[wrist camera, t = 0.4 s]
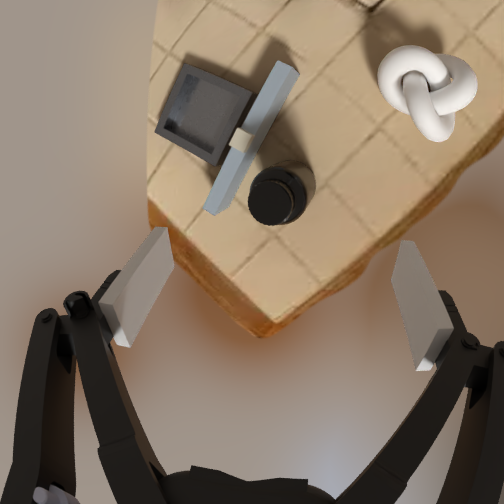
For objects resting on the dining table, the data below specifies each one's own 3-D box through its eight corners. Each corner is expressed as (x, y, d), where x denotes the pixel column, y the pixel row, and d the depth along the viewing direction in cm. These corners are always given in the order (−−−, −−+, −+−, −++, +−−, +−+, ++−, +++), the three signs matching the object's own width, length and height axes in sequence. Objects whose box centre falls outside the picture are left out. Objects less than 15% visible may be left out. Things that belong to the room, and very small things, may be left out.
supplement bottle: (262, 198, 44) (230, 221, 34) (276, 153, 41) (246, 161, 31) (308, 215, 43) (289, 244, 33) (323, 169, 40) (310, 183, 29)
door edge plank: (286, 67, 36) (274, 57, 31) (300, 74, 36) (290, 65, 31) (217, 200, 47) (198, 210, 41) (228, 207, 46) (210, 218, 41)
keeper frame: (192, 65, 40) (184, 63, 38) (258, 94, 39) (252, 92, 37) (163, 131, 45) (154, 132, 43) (222, 164, 44) (215, 166, 42)
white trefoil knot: (470, 138, 31) (496, 140, 23) (389, 145, 36) (398, 148, 28) (452, 57, 28) (472, 40, 20) (369, 63, 33) (372, 45, 25)
